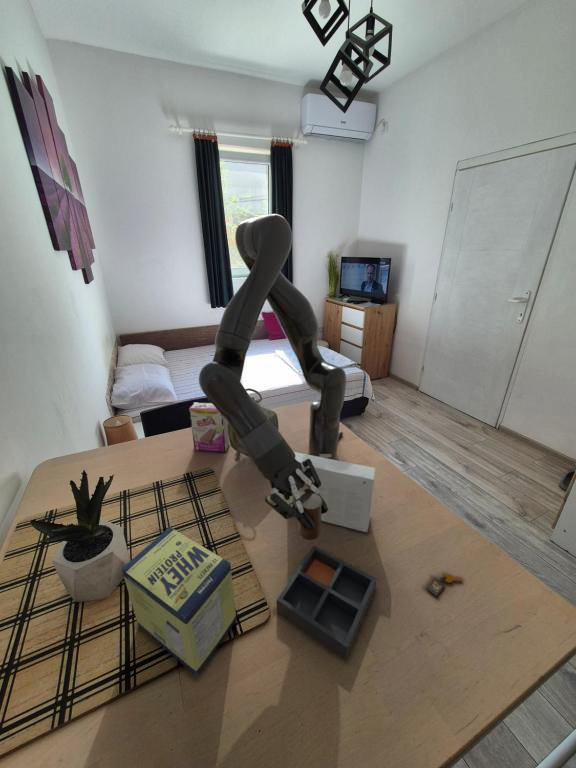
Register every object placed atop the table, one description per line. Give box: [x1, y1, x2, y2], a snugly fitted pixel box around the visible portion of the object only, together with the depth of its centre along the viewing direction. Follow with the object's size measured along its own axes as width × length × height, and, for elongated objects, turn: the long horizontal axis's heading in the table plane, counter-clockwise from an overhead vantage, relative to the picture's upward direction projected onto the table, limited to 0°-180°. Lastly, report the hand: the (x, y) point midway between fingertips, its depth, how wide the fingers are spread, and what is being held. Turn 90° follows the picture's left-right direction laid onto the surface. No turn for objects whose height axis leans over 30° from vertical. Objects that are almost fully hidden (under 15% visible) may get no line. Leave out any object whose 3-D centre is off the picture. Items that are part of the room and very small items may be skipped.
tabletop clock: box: [228, 387, 280, 458], centre depth 102 cm, size 14×9×25 cm, turn 58°
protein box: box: [121, 526, 238, 677], centre depth 57 cm, size 10×16×16 cm
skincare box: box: [289, 451, 377, 533], centre depth 82 cm, size 21×5×16 cm, turn 71°
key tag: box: [426, 573, 463, 597], centre depth 68 cm, size 8×3×1 cm, turn 116°
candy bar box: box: [188, 401, 230, 453], centre depth 109 cm, size 11×5×16 cm, turn 84°
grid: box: [276, 545, 378, 660], centre depth 64 cm, size 14×14×4 cm
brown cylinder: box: [297, 493, 322, 541], centre depth 64 cm, size 4×4×8 cm
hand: (318, 519), depth 63 cm, fingers closed on brown cylinder, 4 cm apart
